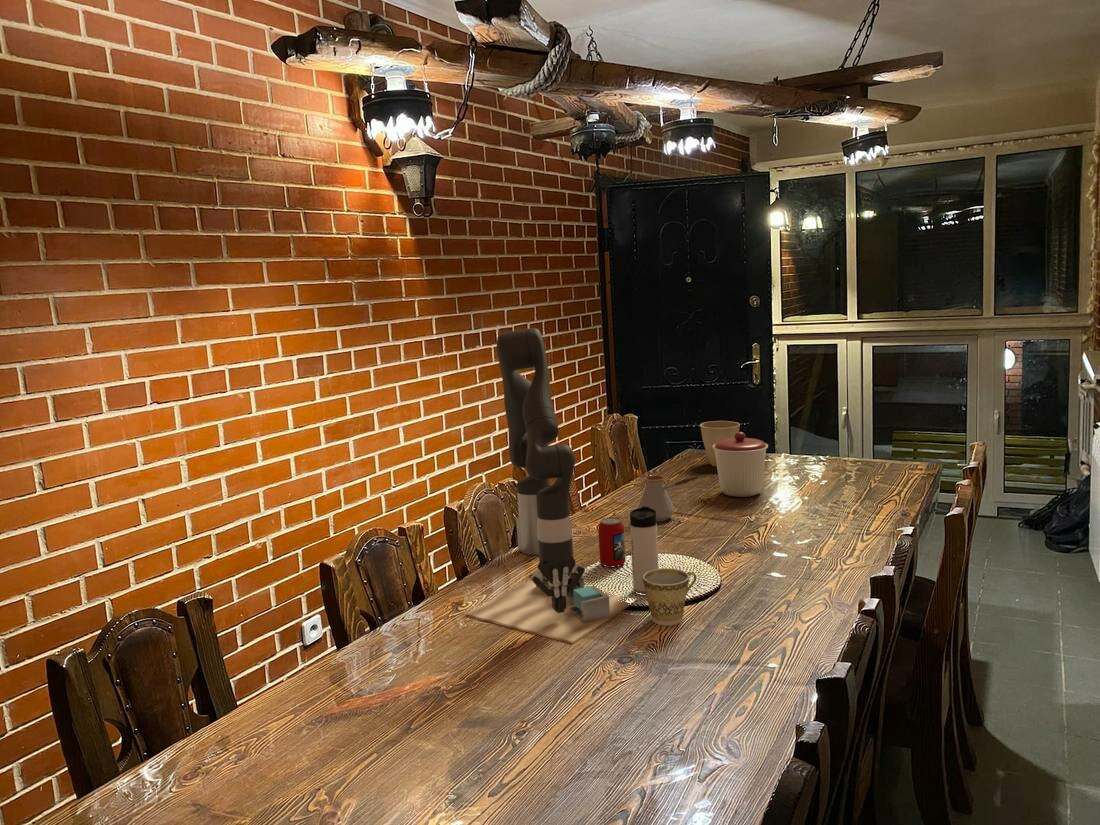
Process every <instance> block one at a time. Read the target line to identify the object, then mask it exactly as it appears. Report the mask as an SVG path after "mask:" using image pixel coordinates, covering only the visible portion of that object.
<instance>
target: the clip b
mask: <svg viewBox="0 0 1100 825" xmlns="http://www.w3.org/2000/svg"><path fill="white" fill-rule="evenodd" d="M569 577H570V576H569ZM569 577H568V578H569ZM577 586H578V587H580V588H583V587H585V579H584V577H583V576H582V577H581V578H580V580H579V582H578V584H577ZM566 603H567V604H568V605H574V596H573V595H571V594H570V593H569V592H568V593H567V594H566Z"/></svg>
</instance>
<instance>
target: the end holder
mask: <svg viewBox="0 0 1100 825" xmlns="http://www.w3.org/2000/svg"><path fill="white" fill-rule="evenodd" d="M590 587H591V588H593V589H594V590H595V591H597V592H598V593H599V595H600V597H597V598H593V599H589V600H584V601H581V610H580V609H579V608H577V607H576V606H575V607H571V608H570V613H572V614H573V615H574V616H575V617H576V618H578V619H579V620H580V621H581V622H583V623H584V624H585V623H589V622H593V621H597V620H601V619H606V618H610V606H609V596H608V595H607V594H605V593H604V592H605V591H602V590H601V589H599V588H598V587H597V586H596V585H594V586H590ZM610 619H611V618H610Z"/></svg>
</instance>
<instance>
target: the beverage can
mask: <svg viewBox="0 0 1100 825" xmlns="http://www.w3.org/2000/svg"><path fill="white" fill-rule="evenodd" d="M625 541H626V540H625V526H624V523H623V522H622V519H621V518H619V517H616V516H615V517H611V516H610V517H609V516H608V517H604V518H602V519H600V522H599V524H598V547H599V550H598V551H599V563H601V565H603V566H604V565H606V566H618V565H621V566H622V565H623V564H625V563H626V542H625ZM606 566H605V567H606Z"/></svg>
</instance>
